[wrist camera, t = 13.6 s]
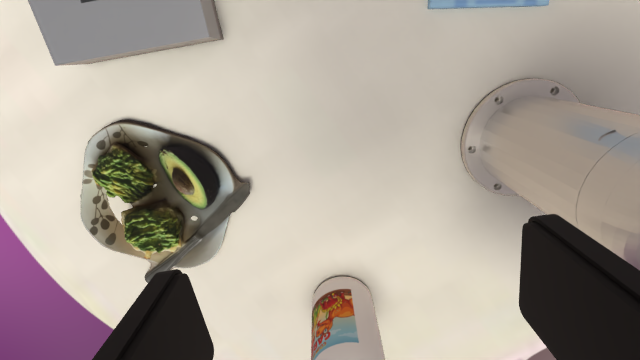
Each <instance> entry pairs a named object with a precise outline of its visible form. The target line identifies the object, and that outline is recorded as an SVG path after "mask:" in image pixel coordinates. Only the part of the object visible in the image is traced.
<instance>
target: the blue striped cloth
mask: <svg viewBox="0 0 640 360" xmlns="http://www.w3.org/2000/svg"><path fill="white" fill-rule="evenodd" d="M548 4H549V0H428V9H448V8H486V7H524V6H546V5H548Z"/></svg>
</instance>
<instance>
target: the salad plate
mask: <svg viewBox="0 0 640 360" xmlns="http://www.w3.org/2000/svg"><path fill="white" fill-rule="evenodd" d="M144 146H147V147H144ZM154 184H157V186H156V187H154V188H153V185H154ZM82 185H83V187H82V193H81V219H82V222H83V224H84V226H85V228H86V229H87V231H88V232H89V233H90V234H91V235H92V236H93V238H94V239H95V240H96V241H98V242H99V243H100V244H101V245H102V246H104V247H106V248H108V249H110V250H113V251H116V252H120V253H123V254H128V255H131V256H136V257H139V258H143V259H146V260H148V261H149V262H150V263H151V267H150V269H149V271H148V272H147V273H146V275H145V280H146V282H147V283H149V282H150V280H151V279H152V278H153V276H154V275H155V274H156V273H158V272H162V271H169V270H171V269H173V268H192V267H196V266H199V265H201V264H204V263H206V262H208V261H210V260H211V259H213V258H214V257H215V256H216V254H217V252H218V251H219V249H220V247H221V244H222V241H223V238H224V235H225V230H226V227H227V223H228V219H229V215H230V213H232V212H235V211H236V210H237V209H238V208H239V207H240V206H241V205H242V204H243V202H244V201H245V200H246V198H247V197H248V195H249V194H250V191H249V183H245V182H243V183H241V182H240V181H239V180H237V178H236V177H235V176H234V174H233V173H232V171H231V169H230V168H229V166H228V165H227V163H226V162H225V160H224V159H223V158H222V157H221V156H220V155H219V154H218V153H216V152H215V151H214V150H212V149H211V148H209V147H207V146H205V145H203V144H201V143H199V142H197V141H194V140H192V139H190V138H189V137H186V136H182V135H179V134H175V133H172V132H170V131H167V130H164V129H161V128H158V127H155V126H152V125H149V124H146V123H140V122H136V121H131V120H120V121H117V122H114V123H111V124H110V125H108V126H106V127H104V128H103V129H101V130H100V131H99V132H97V133H96V134H95V135H93V136H92V138H91V139H90V140H89V142H88V145H87V147H86V150H85V158H84V170H83V182H82ZM107 195H108V196H109V197H115V196H119V197H120V198H121V199H122V200H123V201H124V202H125V203H131V204H132V206H133V208H131V209H128V210H125V211H123V212H121V215H122V219H121V221H122V224H121V223H120V222H119V221H118V220H117V219H116V217H115V216H114V213H113V212H112V210H111V208H110V206H109V203H108V198H107ZM192 216H197V217H198V219H197V220H196V221H193V220H191V217H192Z"/></svg>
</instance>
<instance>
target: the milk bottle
mask: <svg viewBox="0 0 640 360" xmlns="http://www.w3.org/2000/svg"><path fill="white" fill-rule="evenodd" d="M311 360H385V356H384V351H383V346H382V342H381V337H380V332H379V327H378V323H377V318H376V314H375V309H374V305H373V300H372V297H371V293H370V291H369V290H368V288H367V287H366V286H365V285H364V284H363V283H362V282H360V281H359V280H357V279H354V278H351V277H344V276H340V277H334V278H331V279H329V280H327V281H325V282H324V283H322V284H321V285H320V286H319V287H318V289H317V290H316V292H315V294H314V296H313V303H312V346H311Z"/></svg>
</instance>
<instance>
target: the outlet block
mask: <svg viewBox="0 0 640 360" xmlns="http://www.w3.org/2000/svg"><path fill="white" fill-rule="evenodd" d="M28 2H29V4H30V6H31V9H32V11H33V14H34V16H35V18H36V21H37V23H38V26H39V28H40V30H41V33H42V35H43V38H44V40H45V42H46V45H47V47H48V49H49V52H50V54H51V57H52V59H53V61H54V64H55V66H57V65H77V64H90V63H96V62H101V61H107V60H112V59H117V58H123V57H128V56H134V55H139V54H145V53H150V52H156V51H161V50H166V49H172V48H177V47H183V46H188V45H194V44H199V43H205V42H210V41H215V40H221V39H223V36H222V32H221V28H220V24H219V20H218V16H217V11H216V7H215V3H214V0H28Z"/></svg>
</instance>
